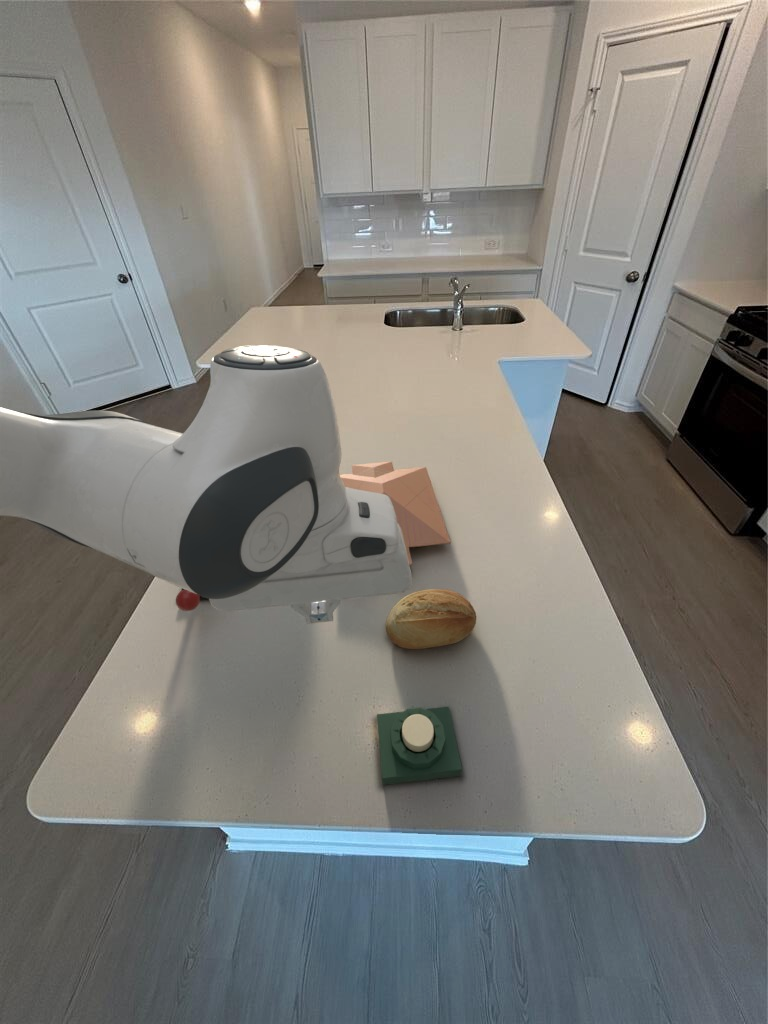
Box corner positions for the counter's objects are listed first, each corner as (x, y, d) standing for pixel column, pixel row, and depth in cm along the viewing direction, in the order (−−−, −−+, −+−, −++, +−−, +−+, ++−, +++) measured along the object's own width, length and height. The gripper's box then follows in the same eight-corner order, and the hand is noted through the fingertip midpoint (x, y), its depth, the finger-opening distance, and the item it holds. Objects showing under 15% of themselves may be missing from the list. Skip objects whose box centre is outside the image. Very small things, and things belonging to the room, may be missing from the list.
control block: (447, 713, 62) (449, 700, 59) (460, 776, 56) (463, 763, 53) (377, 721, 61) (376, 707, 59) (382, 785, 55) (381, 773, 53)
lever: (202, 611, 72) (194, 608, 69) (180, 613, 72) (170, 610, 69) (207, 525, 78) (199, 518, 75) (186, 527, 78) (178, 519, 74)
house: (423, 471, 107) (424, 442, 102) (454, 571, 82) (458, 540, 77) (329, 480, 106) (325, 451, 101) (332, 584, 81) (327, 553, 76)
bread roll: (484, 650, 70) (491, 619, 64) (392, 666, 68) (391, 637, 63) (465, 602, 77) (469, 571, 72) (381, 616, 75) (379, 586, 70)
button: (430, 718, 58) (430, 712, 57) (435, 750, 55) (436, 744, 54) (400, 721, 58) (400, 715, 57) (404, 753, 55) (404, 748, 54)
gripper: (176, 562, 37) (220, 653, 46) (415, 538, 38) (414, 631, 47) (192, 514, 42) (230, 605, 51) (405, 494, 43) (405, 586, 52)
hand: (320, 617), depth 49 cm, fingers closed
